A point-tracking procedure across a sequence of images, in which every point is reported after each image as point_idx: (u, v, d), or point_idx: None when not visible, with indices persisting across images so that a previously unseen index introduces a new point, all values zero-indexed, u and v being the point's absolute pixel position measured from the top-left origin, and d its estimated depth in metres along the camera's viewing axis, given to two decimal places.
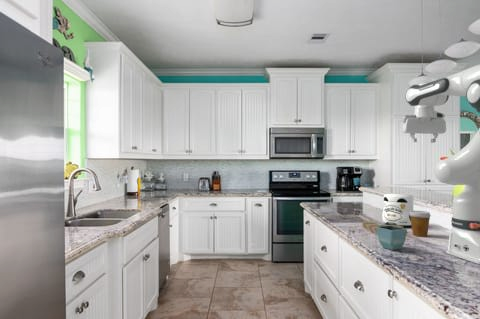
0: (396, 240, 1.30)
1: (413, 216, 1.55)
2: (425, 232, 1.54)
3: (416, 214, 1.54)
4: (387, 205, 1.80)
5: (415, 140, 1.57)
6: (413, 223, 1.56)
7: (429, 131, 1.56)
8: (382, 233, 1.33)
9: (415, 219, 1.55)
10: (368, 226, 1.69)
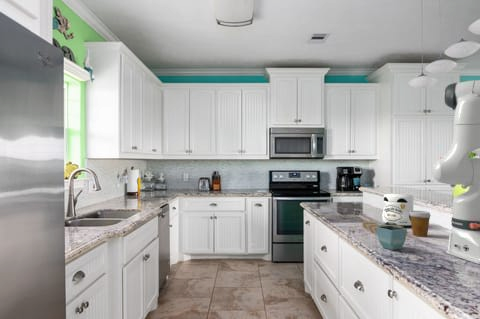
0: (396, 240, 1.30)
1: (413, 216, 1.55)
2: (425, 232, 1.54)
3: (416, 214, 1.54)
4: (387, 205, 1.80)
5: (451, 184, 1.61)
6: (413, 223, 1.56)
7: None
8: (382, 233, 1.33)
9: (415, 219, 1.55)
10: (368, 226, 1.69)
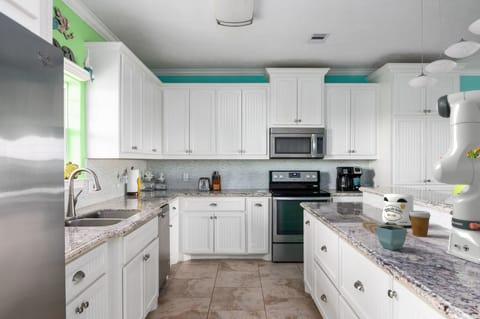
0: (396, 240, 1.30)
1: (413, 216, 1.55)
2: (425, 232, 1.54)
3: (416, 214, 1.54)
4: (387, 205, 1.80)
5: (450, 211, 1.58)
6: (413, 223, 1.56)
7: None
8: (382, 233, 1.33)
9: (415, 219, 1.55)
10: (368, 226, 1.69)
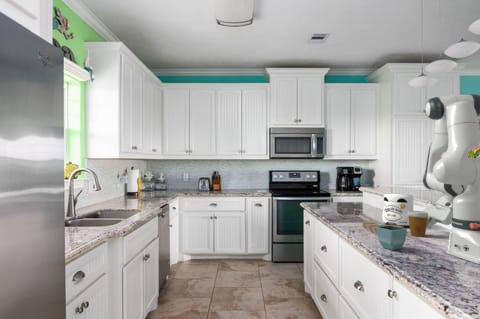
0: (396, 240, 1.30)
1: (411, 216, 1.56)
2: (423, 232, 1.54)
3: (414, 214, 1.54)
4: (387, 205, 1.80)
5: None
6: (411, 223, 1.56)
7: (433, 216, 1.55)
8: (382, 233, 1.33)
9: (413, 219, 1.55)
10: (368, 226, 1.69)
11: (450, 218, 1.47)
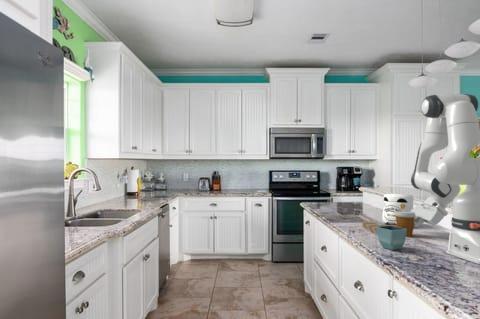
0: (396, 240, 1.30)
1: (398, 216, 1.56)
2: (410, 232, 1.54)
3: (401, 214, 1.54)
4: (387, 205, 1.80)
5: None
6: (398, 223, 1.56)
7: (420, 216, 1.55)
8: (382, 233, 1.33)
9: (400, 219, 1.55)
10: (368, 226, 1.69)
11: (437, 218, 1.47)
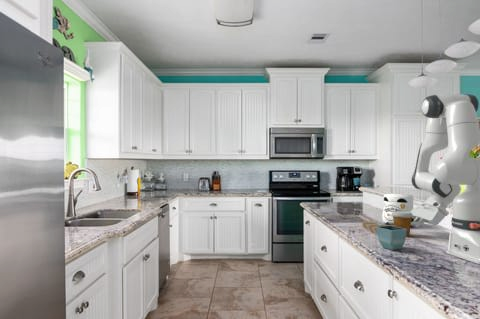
0: (396, 240, 1.30)
1: (395, 216, 1.56)
2: (407, 232, 1.54)
3: (398, 214, 1.55)
4: (387, 205, 1.80)
5: (413, 223, 1.58)
6: (395, 223, 1.57)
7: (421, 216, 1.55)
8: (382, 233, 1.33)
9: (397, 219, 1.55)
10: (368, 226, 1.69)
11: (438, 218, 1.47)
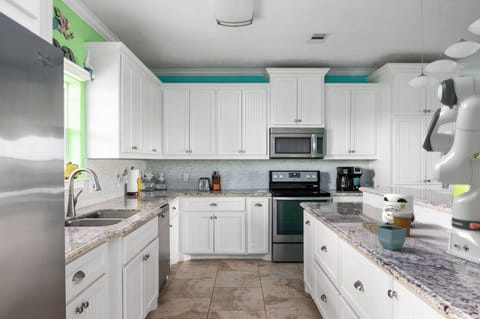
0: (396, 240, 1.30)
1: (395, 216, 1.56)
2: (407, 232, 1.54)
3: (398, 214, 1.55)
4: (387, 205, 1.80)
5: (442, 186, 1.60)
6: (395, 223, 1.57)
7: None
8: (382, 233, 1.33)
9: (397, 219, 1.55)
10: (368, 226, 1.69)
11: None
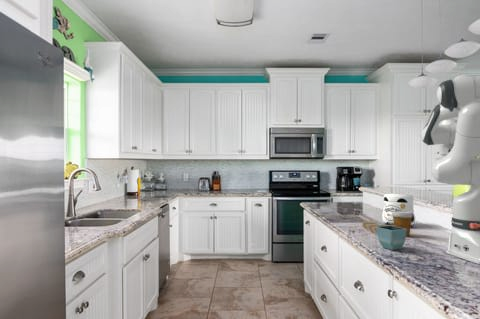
0: (396, 240, 1.30)
1: (395, 216, 1.56)
2: (407, 232, 1.54)
3: (398, 214, 1.55)
4: (387, 205, 1.80)
5: None
6: (395, 223, 1.57)
7: None
8: (382, 233, 1.33)
9: (397, 219, 1.55)
10: (368, 226, 1.69)
11: None
